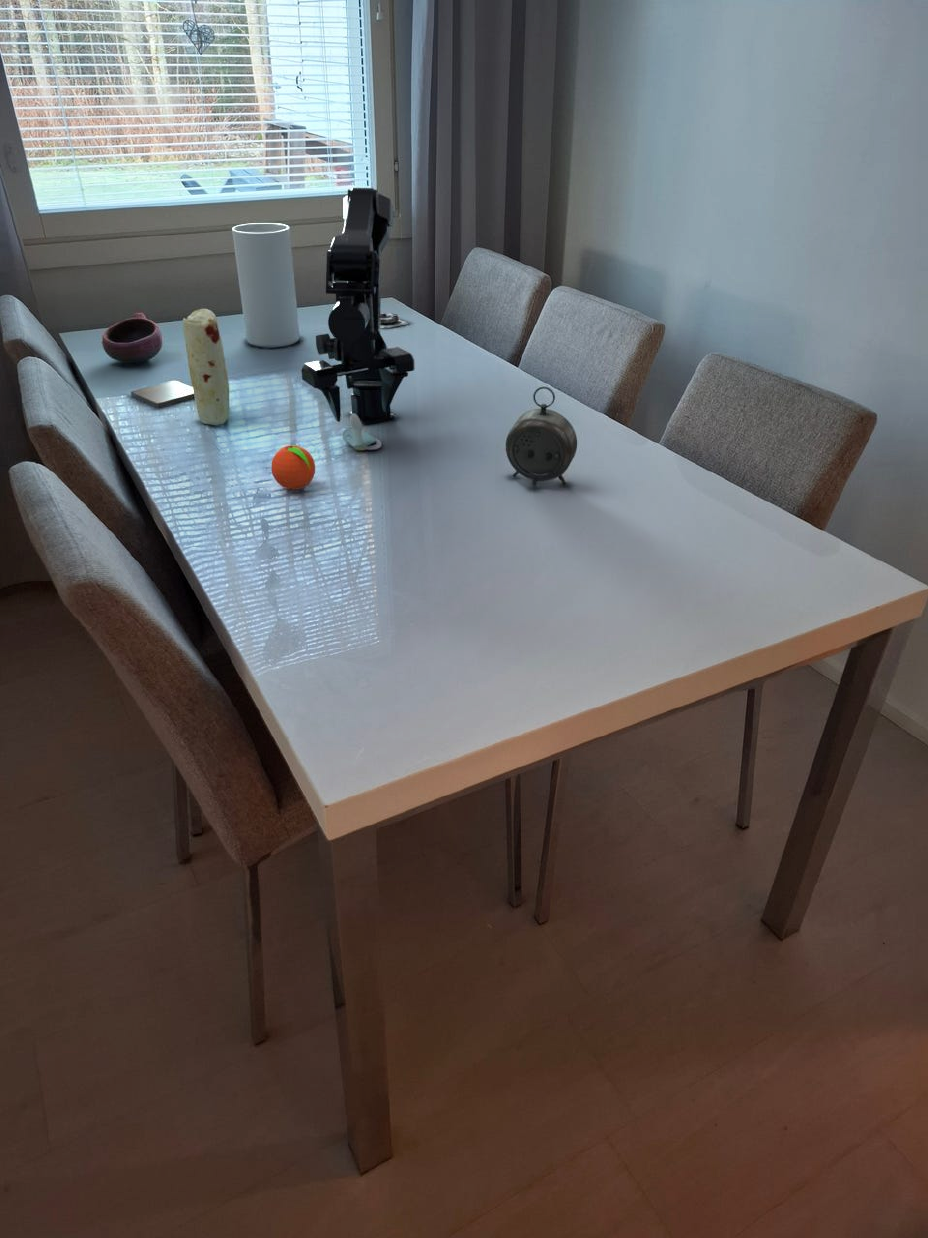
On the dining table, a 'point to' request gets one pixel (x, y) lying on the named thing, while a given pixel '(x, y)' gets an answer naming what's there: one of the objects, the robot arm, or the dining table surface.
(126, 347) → the bowl
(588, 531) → the dining table surface
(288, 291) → the cylinder vase
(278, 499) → the dining table surface
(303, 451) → the clementine
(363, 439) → the pacifier
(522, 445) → the alarm clock
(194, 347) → the food model
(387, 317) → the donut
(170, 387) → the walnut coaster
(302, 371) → the robot arm
